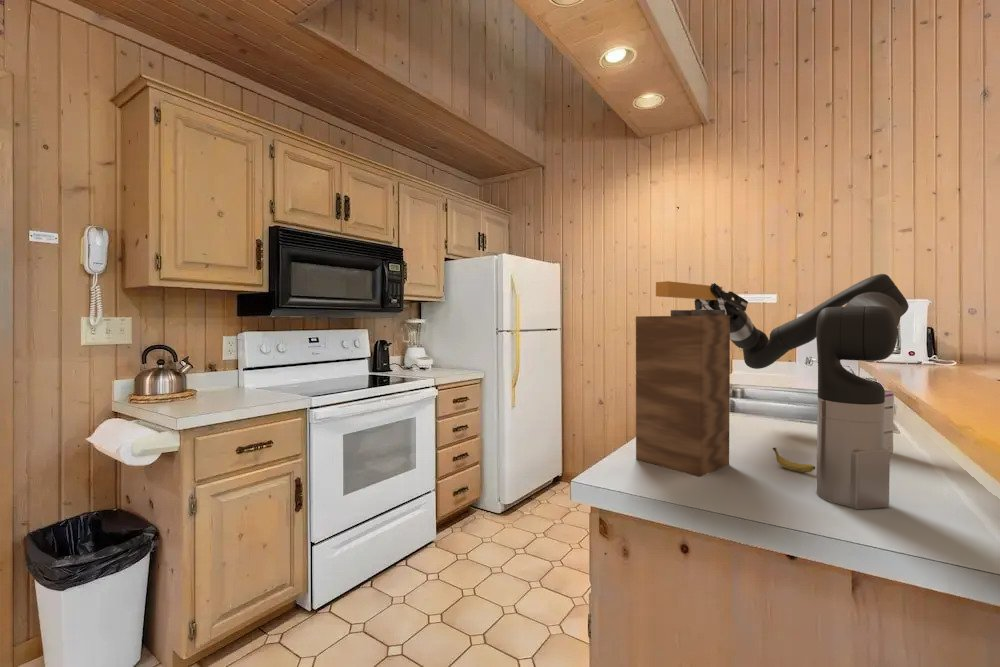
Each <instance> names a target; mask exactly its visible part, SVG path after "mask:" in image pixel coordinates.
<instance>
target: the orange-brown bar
mask: <svg viewBox="0 0 1000 667" xmlns="http://www.w3.org/2000/svg"><path fill="white" fill-rule="evenodd" d="M699 284H700V283H699ZM699 284H697V283H688V282H679V281H678V282H677V281H669V280H667V281H657V282H656V281H655V297H660V298H661V297H663V298H677V299H691V300H695V299H702V300H718V298H716V297H715V296H714V295H713V293H712V292H711V291H710V288H711V285H707V284H701V285H699ZM719 287H720V288H721V289H722V290H723V286H719Z"/></svg>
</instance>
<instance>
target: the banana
mask: <svg viewBox="0 0 1000 667" xmlns="http://www.w3.org/2000/svg"><path fill="white" fill-rule="evenodd" d="M772 451H774V453H775V455H776V458H775V460H776V462H777V463H778V465H779V466H780V467H782V468H785V469H786V470H790V471H792V470H793V472H796V473H797V472H798V473H811V472H814V470H815V469H816V466H814V465H813V464H808V463H807V464H805V463H804V464H803V463H797V462H795V461H794V462H793V461H790V460H788V459H785V458H784V457H782V456H781V455H780V454H779V452H778V450H777V447H772Z"/></svg>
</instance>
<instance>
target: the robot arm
mask: <svg viewBox="0 0 1000 667" xmlns="http://www.w3.org/2000/svg"><path fill="white" fill-rule="evenodd" d="M699 285H702V284H701V283H699ZM710 286H711V288H710V291H711V292H712V293H713V295H714V296H715V297H716V298H718V300H702V299H694V308H695V309H694V310H725V315H730V342H732V343H733V344H734V345H735V347H737V348H738V349H742V352H743V361H744V363H745V365H746V366H747V367H749V368H751V369H755V370H760V369H765V368H768V367H770V366H771V365H772V364H774V363H775V362H777V360H779V359H780V358H782V357H783V356H785V355H786V354H787V353H788V352H789V351H792V350H794V349H796V348H799V347H801V346H804V345H807V344H808V343H810V342H812V341H813V340H815V339H816V350H817V351H816V352H817V353H816V354H817V416H816V417H817V421H816V422H817V423H816V424H817V425H816V428H817V429H816V430H817V431H816V494H817V495H818V497H820V498H822V499H824V500H825V501H828V502H831V503H834V504H837V505H838V504H839V505H843V506H847V507H850V508H852V509H855V510H869V509H878V508H879V509H881V508H883V509H884V508H889V507H890V472H891V470H890V469H891V463H890V462H891V459H890V457H891V453H890V451H889V450H887V449H884V412H885V403H884V402H885V390H886V389H885V388H884V386H883V385H882V384H880V383H878V382H876V381H872V380H870V379H866V378H864V377H861V376H859V375H856V374H855V373H853V372H851V371H850V370H847V369H846V368H845V367H844V366H843V365H842V363H841V361H845V360H846V361H861V362H862V361H865V362H877V361H883V360H886V359H888V358H889V357H891V355H892V354H893V352H894V351H895V348H896V345H897V340H898V326H899V324H900V321H901V318H902V317H903V316H904V315H905V313H907V311H908V310H909V302H908V301H907V299H906V298H905V296H904V295H903V293H902V292H901V291H900V289H899V288H898V286H897V285H896V284H895V283H894V281H893V280H892V278H891V277H890V276H889V275H888V274H886V273H885V274H884V273H879V274H875V275H872V276H870V277H867V278H865V279H863V280H861V281H859V282H856V283H855V284H853V285H851V286H849V287H848V288H845V289H843V290H841V292H838V293H837V294H836V295H834V296H832V297H830V298H828V299H826V300H825V301H823V302H821V303H820V304H818V305H816V306H815V307H813V308H812V309H810V310H809V311H807V312H806V313H804V314H801V315H800V316H798V317H796V318H794V319H792V320H789V321H788V322H785V323H783V324H781V325H779V326H776V327H774V328H773V329H772V330H771V331H770V333H769V338H768V336H767V334H766V333H765V332H764V331H761V330H760V329H759V328H756V326H755V325H754V324H753V322H752V320H751V317H749V315H748V314H747V313H746V311H747V308H748V304H749V301H748V300H746V299H745V298H743V297H742V296H740V295H738V294H736V293H735V292H733V291H731V290H730V291H728V292H726V291H725V290H723V288H722V289H721V288H720V287H721V286H719V285H718V284H716V283H715V282H712V283H711V284H710Z"/></svg>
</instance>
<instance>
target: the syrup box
mask: <svg viewBox="0 0 1000 667" xmlns="http://www.w3.org/2000/svg"><path fill="white" fill-rule="evenodd" d="M884 390H885V402H884V403H885V412H884V449H887V450H889V451H890V454H893V453H894V413H895V412H894V408H895V405H894V404H895V395H894V393H895V392H894V390H887V389H884Z"/></svg>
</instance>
